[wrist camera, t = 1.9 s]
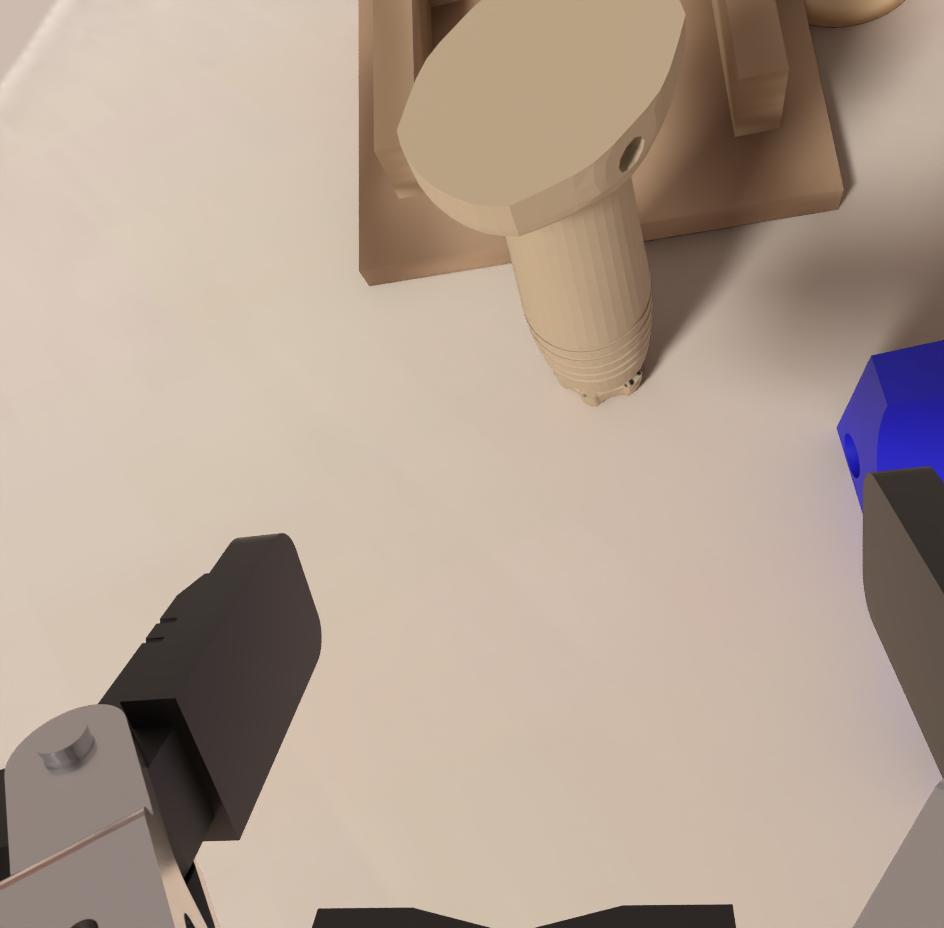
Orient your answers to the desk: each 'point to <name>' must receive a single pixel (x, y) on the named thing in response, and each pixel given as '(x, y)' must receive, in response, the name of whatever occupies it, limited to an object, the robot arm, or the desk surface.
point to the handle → (555, 163)
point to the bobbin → (846, 11)
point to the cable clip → (896, 414)
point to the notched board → (668, 161)
